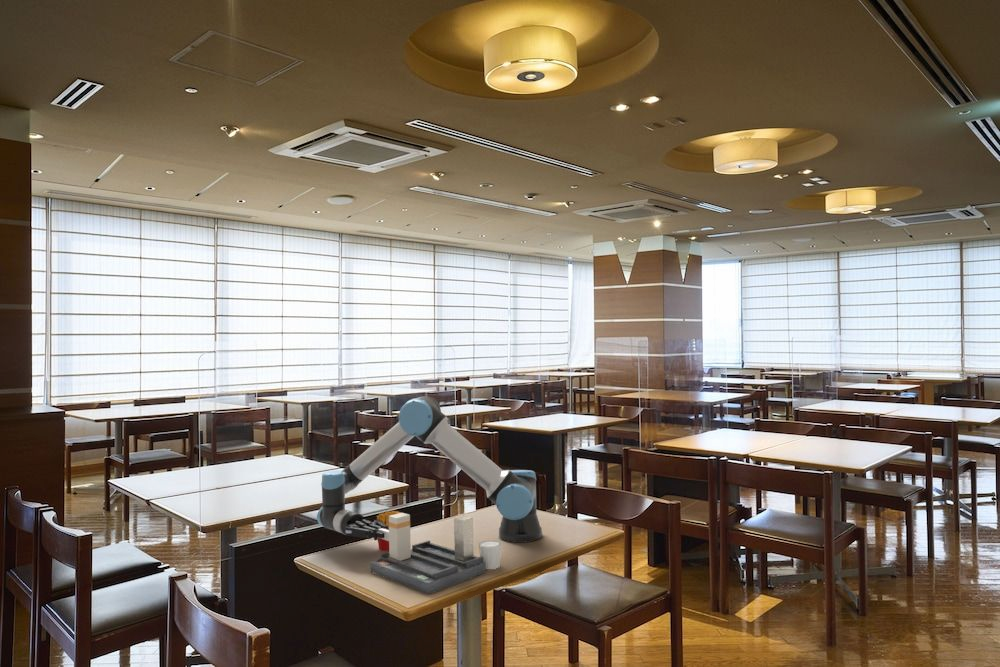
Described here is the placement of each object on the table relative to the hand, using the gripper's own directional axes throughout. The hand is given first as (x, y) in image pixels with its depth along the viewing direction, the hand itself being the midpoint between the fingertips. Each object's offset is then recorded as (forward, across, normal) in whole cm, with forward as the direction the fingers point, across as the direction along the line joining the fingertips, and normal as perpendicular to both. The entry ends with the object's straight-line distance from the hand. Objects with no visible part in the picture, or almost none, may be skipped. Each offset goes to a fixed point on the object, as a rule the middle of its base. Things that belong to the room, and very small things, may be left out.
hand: (392, 536), depth 202 cm
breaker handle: (+2, -1, -6) cm, 7 cm away
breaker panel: (+11, -4, -9) cm, 15 cm away
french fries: (-17, -11, -10) cm, 22 cm away
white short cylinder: (+22, -20, -10) cm, 31 cm away
